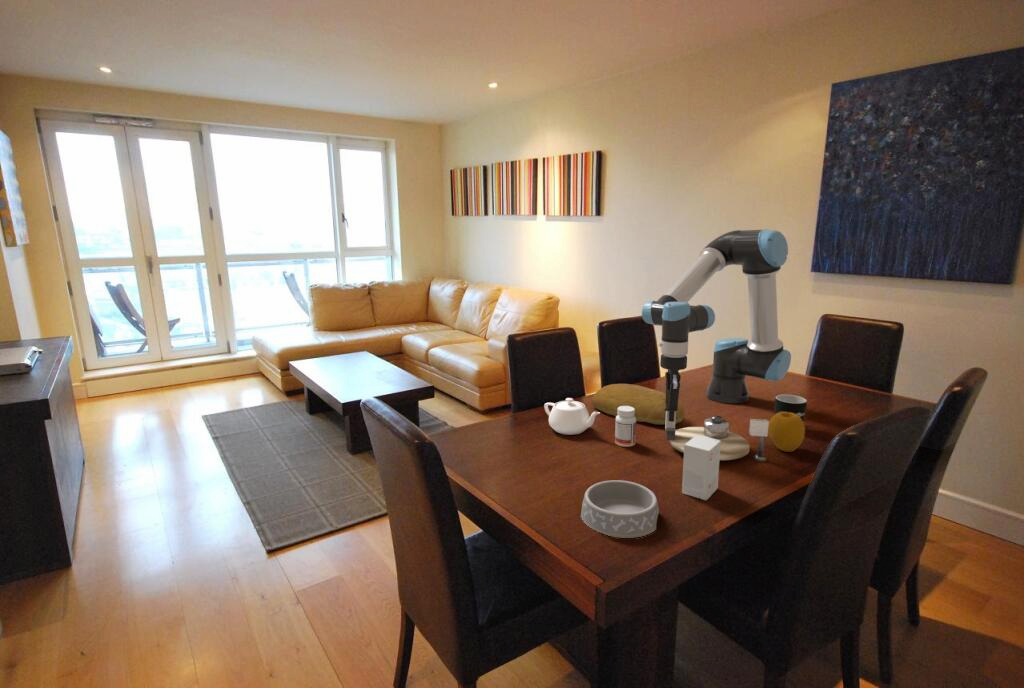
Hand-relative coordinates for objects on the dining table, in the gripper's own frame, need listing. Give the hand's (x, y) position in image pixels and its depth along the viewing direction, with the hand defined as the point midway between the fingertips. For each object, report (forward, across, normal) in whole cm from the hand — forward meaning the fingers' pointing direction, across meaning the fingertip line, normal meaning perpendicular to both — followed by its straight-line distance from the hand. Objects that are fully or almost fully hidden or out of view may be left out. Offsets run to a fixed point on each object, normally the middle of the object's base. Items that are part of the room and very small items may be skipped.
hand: (670, 429), depth 158 cm
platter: (+3, +3, +10) cm, 11 cm away
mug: (+5, -19, +41) cm, 45 cm away
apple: (+5, 0, +33) cm, 33 cm away
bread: (+5, -26, -8) cm, 28 cm away
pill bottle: (+5, +2, -13) cm, 14 cm away
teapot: (+5, -7, -30) cm, 32 cm away
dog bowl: (+5, +44, -16) cm, 47 cm away
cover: (+1, -2, +14) cm, 14 cm away
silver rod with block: (+4, +8, +24) cm, 25 cm away
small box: (+5, +29, +4) cm, 30 cm away
